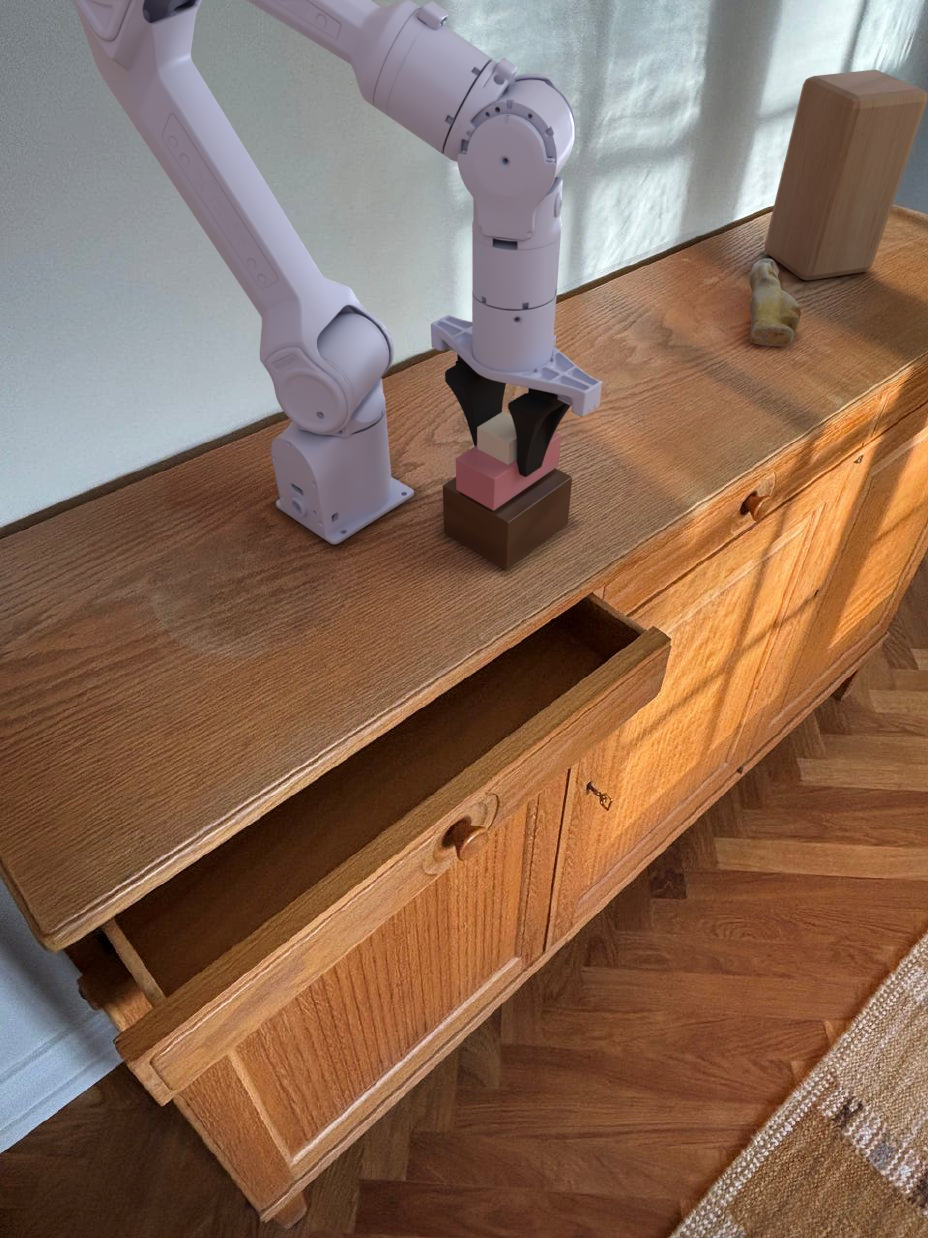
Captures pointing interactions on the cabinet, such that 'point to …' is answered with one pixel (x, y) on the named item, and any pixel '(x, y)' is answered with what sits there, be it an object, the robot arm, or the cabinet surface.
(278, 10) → the robot arm
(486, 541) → the walnut block
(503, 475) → the pink toy brick
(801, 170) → the block
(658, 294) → the cabinet surface
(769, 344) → the figurine
